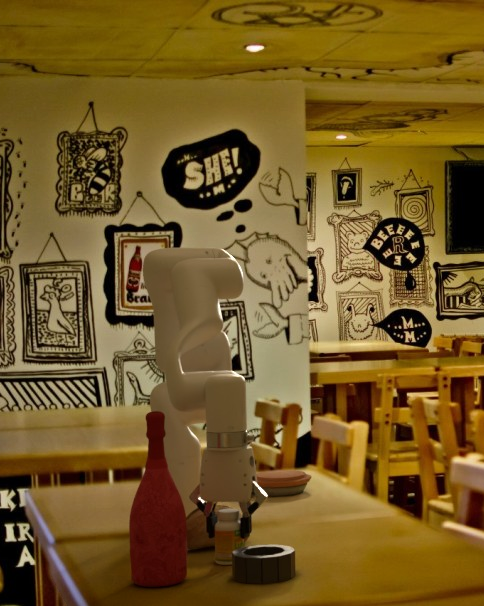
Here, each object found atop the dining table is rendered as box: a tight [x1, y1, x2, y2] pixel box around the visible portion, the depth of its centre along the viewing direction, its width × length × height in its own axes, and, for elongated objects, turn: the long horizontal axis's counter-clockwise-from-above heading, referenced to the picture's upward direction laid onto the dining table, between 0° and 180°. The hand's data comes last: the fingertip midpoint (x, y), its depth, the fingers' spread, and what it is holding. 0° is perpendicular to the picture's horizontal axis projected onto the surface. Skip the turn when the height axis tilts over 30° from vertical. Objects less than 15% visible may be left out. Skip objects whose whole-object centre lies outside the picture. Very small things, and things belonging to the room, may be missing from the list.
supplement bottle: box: [214, 508, 245, 566], centre depth 232 cm, size 5×5×10 cm
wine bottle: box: [128, 411, 188, 588], centre depth 217 cm, size 10×10×30 cm
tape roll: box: [231, 544, 296, 585], centre depth 220 cm, size 11×11×4 cm
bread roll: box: [186, 504, 251, 550], centre depth 246 cm, size 10×15×8 cm, turn 130°
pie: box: [256, 469, 312, 497], centre depth 308 cm, size 16×16×5 cm
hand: (229, 536), depth 232 cm, fingers open, 5 cm apart
